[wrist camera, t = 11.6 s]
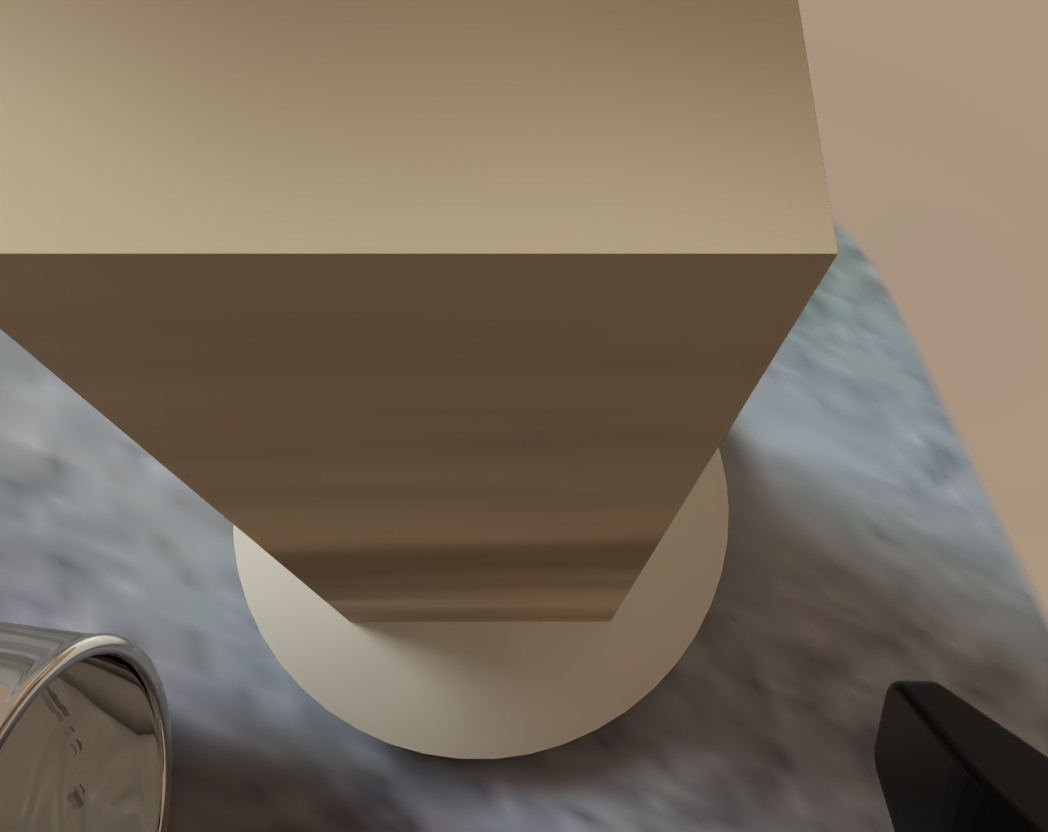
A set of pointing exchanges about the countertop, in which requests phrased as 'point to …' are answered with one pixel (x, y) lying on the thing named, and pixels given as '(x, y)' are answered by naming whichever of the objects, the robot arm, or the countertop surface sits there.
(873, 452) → the countertop surface
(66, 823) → the beer glass
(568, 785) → the countertop surface
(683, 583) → the saucer
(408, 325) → the wooden block
